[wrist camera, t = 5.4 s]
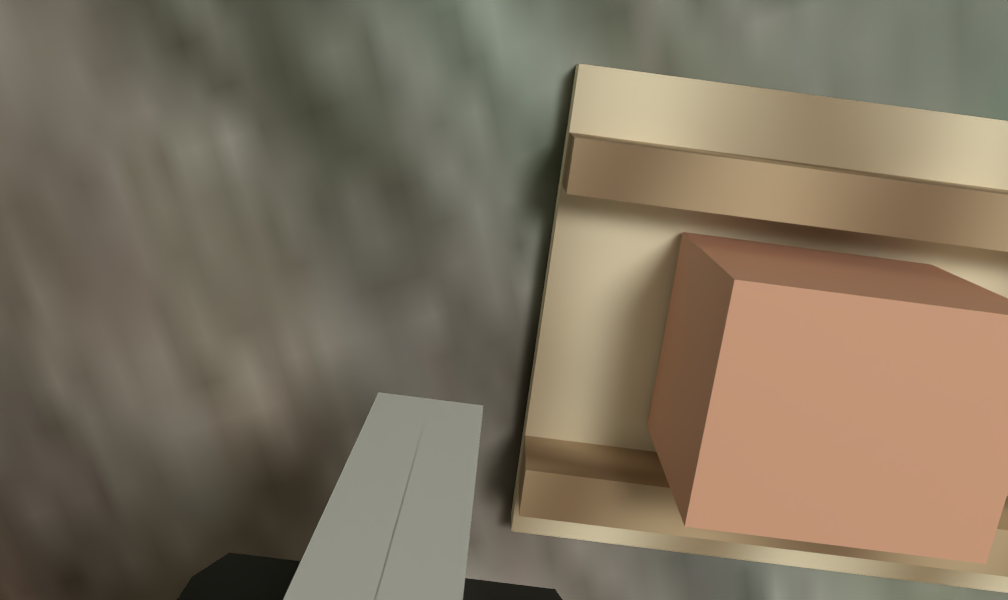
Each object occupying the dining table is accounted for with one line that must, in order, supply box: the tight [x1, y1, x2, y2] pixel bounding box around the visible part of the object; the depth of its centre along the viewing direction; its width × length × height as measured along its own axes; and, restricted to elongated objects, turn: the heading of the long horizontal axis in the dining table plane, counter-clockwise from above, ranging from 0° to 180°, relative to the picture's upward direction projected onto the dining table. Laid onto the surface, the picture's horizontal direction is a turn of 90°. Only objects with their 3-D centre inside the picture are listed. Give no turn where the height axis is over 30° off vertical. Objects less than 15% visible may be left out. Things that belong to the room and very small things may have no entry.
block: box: [647, 232, 1008, 564], centre depth 18 cm, size 6×5×5 cm
